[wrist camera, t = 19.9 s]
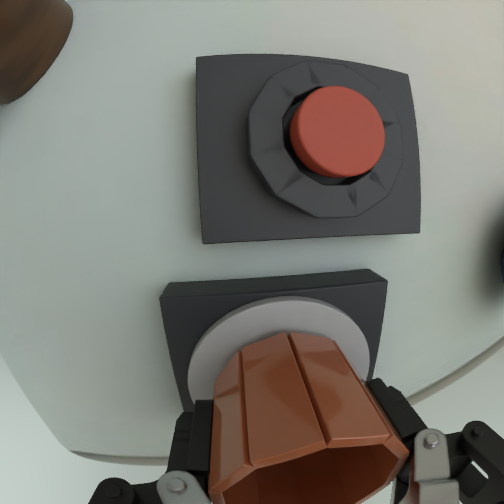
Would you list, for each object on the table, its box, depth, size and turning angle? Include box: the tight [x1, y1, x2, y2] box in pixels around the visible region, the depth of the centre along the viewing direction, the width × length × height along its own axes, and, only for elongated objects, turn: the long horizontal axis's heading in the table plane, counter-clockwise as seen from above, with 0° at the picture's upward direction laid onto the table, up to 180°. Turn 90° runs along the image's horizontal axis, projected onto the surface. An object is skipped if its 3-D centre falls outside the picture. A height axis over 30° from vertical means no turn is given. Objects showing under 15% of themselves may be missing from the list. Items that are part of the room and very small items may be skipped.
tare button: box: [290, 86, 385, 178], centre depth 9 cm, size 3×3×1 cm
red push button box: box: [196, 54, 421, 244], centre depth 10 cm, size 10×8×3 cm
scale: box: [159, 269, 388, 412], centre depth 13 cm, size 10×9×3 cm
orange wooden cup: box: [208, 332, 409, 504], centre depth 9 cm, size 6×6×6 cm
